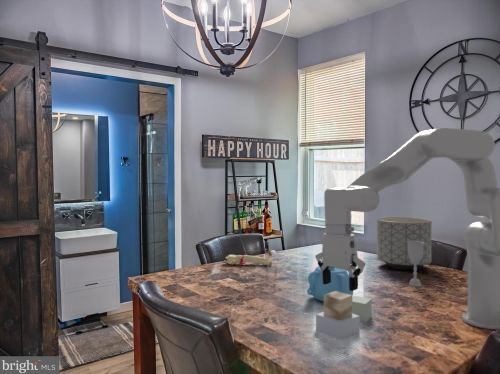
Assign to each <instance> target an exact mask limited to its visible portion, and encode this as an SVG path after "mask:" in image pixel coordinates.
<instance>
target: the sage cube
mask: <svg viewBox="0 0 500 374" xmlns="http://www.w3.org/2000/svg"><path fill="white" fill-rule="evenodd" d="M372 300H373V299H372V298H369V297H368V298H367V297H364V296H363V297H362V296H357V295H352V314H355V315H358V316H360V318H359V322H360V323H361V322H362V323H367V322H368V321H369V320H370V319H371V318H372V315H373V313H372V311H373V310H372V309H373V307H372V303H373V302H372Z"/></svg>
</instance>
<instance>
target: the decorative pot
mask: <svg viewBox="0 0 500 374" xmlns="http://www.w3.org/2000/svg"><path fill="white" fill-rule="evenodd" d="M329 270H330V271H331V283H328V284H325V285H324V284H323V274H322V271H321V269H320V266H319V265H317V266H316V268H315V269H314V271H311V272H310V273H309V274H308V276H307V280H308V284H309V286H308V288H307V291H306V293H307V295H309V296H312V297H313V298H314V299H316V300H318V301H321V302H324V295H325V294H328V293H331V292H334V291H337V292H341V293H345V294H349V295H352V296H354V291H350V290H349V277H351V276H350V274H349V273H348V271H347V270H344V269H339V268H333V267H330V268H329Z"/></svg>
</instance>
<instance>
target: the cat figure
mask: <svg viewBox="0 0 500 374" xmlns="http://www.w3.org/2000/svg"><path fill="white" fill-rule="evenodd" d="M266 253H267V256H266V257H261V256H257V255H248V254H246V253H244V254H243V255H241V254H238V255H236V254H229V255H227V256H225V258H224V260H223V263H224V264H227V263H228V265H232V266H233V265H235V264H236V263H239V264H241V266H242V265H243V266H244V262H245V263H247V262H248V263H255V264H260V265H263V266H267V265H269V267H272V265H273V259H269V258H271V257H272V256H273V253H272V252H271V251H270V250H268V251H266Z"/></svg>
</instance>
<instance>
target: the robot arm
mask: <svg viewBox="0 0 500 374" xmlns="http://www.w3.org/2000/svg"><path fill="white" fill-rule="evenodd" d="M495 145H496V144H495V140H494V138H493V136H491V134H490V133H488V132H486V131H483V130H475V129H473V130H472V129H462V128H453V127H452V128H451V127H450V128H448V127H437V128H433V129H428V130H422V131H419V132H418V133H417V134H415V135H414V136H413V137H412V138H410V139H409V140H408V141H407V142H406V143H404V144H403V145H402V146H401V147H400V148H398V149H397V150H396V151H395V152H393V153H392V154H391V155H390V156H389V157H387V158H386V159H384V160H383V161H381V162H380V163H378V164H377V165H375V166H373V167H372V168H370V169H369V170H367V171H365V172H364V173H363V174H361V175H360V176H358V178H356V179H355V180H354V181H353V182H352V183H351V184H349V185H347V187H332V188H331V187H330V188H326V190H324V193H323V196H324V197H323V199H324V227H325V228H324V229H325V233H323V239H322V248H321V252H319V253H318V254H316V255H314V256H315V259H316V262H317V266H320V269H321V271H322V274H323V284H324V285H325V284H328V283H331V271H330V270H329V268H330V267H333V268H339V269H344V270H347V273H348V275H349V274H350V276H351V277H349V290H350V291H353V292H354V291H357V290H358V289H359V276H360V275H361V274H362V273H363V271H364V268H365V266H366V262H365V261H363V260H362V259H361V258H359V257H358V255H359V254H358V249H357V242H356V237H355V235H354V231H355V227H354V226H352V214H351V213H352V212H360V213H369V212H372V211H374V210H376V209H377V208H379V207H378V206H379V205H380V203H381V197H380V194H379V192H380V191H382V190H384V189H386V188H388V187H391V186H395V185H397V184H400V183H403V182H405V181H407V180H409V179H410V178H411V177H412V176H413V175H414V174H416V173H417V172H418V171H419V170H420V169H422V168H423V167H424V166H425V165H426V164H428V163H429V162H430V161H431V160H433V159H435V158H447V159H448V160H450V161H452V162H453V163H455V164H456V165H457V166H458V167H459V168H460V170H461V172H462V174H463V179H464V186H465V198H466V207H467V210H468V212H469V213H470V215H473V216H474V217H477V218H483V219H488V220H490V221H486V220H479V221H475V222H472V223H471V224H469V225H468V226H467V228H466V230H465V233H464V243H465V247H466V255H467V308H466V309H467V311H466V312H464V313H461V320H462V321H464V322H465V324H468V325H471V326H474V327H477V328H481V329H487V330H500V187H499V186H498V183H497V176H496V169H495V167H494V164H493V162H492V160H491V159H490V157H491V155H492V154H493V153H494V151H495ZM352 233H353V234H352Z"/></svg>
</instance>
